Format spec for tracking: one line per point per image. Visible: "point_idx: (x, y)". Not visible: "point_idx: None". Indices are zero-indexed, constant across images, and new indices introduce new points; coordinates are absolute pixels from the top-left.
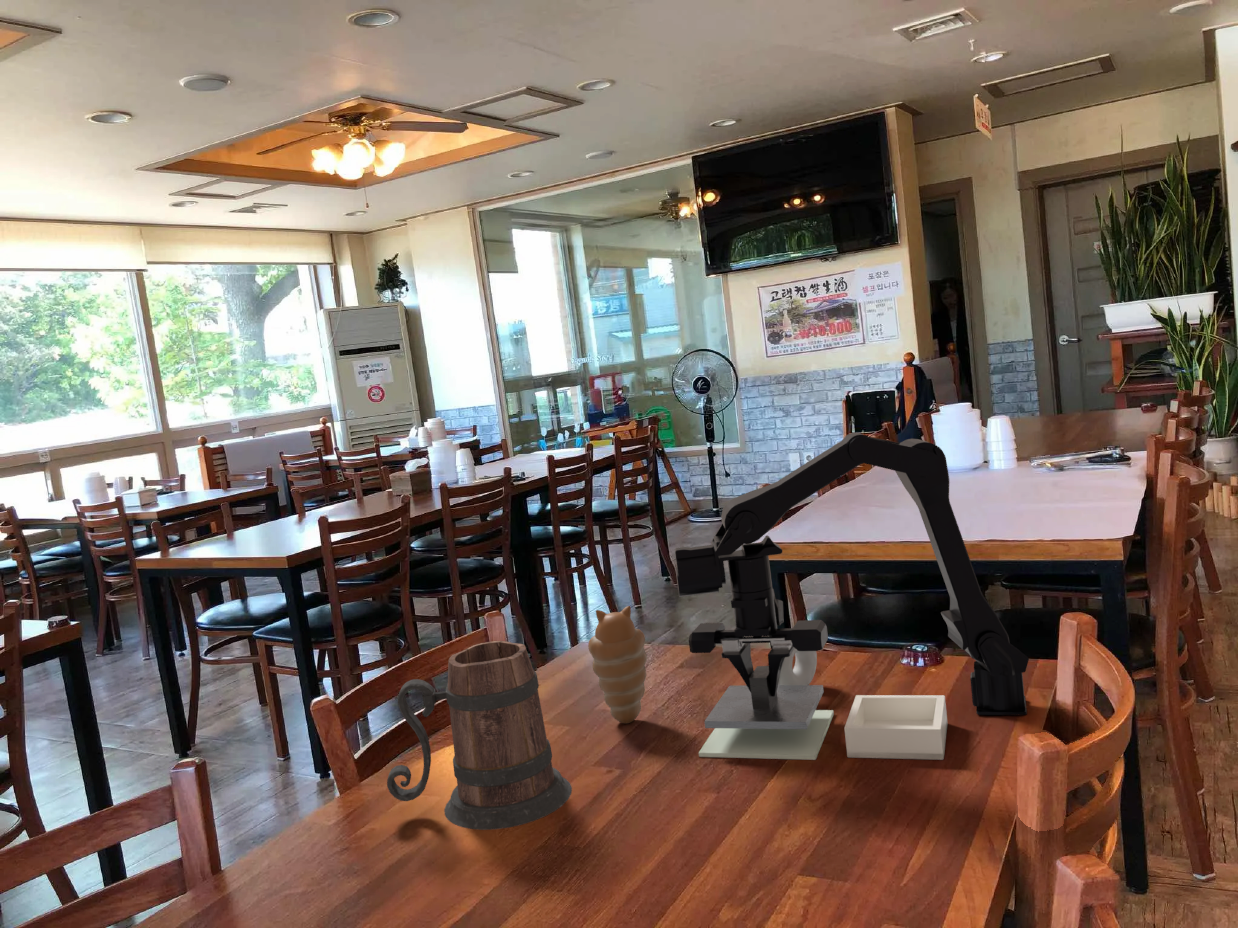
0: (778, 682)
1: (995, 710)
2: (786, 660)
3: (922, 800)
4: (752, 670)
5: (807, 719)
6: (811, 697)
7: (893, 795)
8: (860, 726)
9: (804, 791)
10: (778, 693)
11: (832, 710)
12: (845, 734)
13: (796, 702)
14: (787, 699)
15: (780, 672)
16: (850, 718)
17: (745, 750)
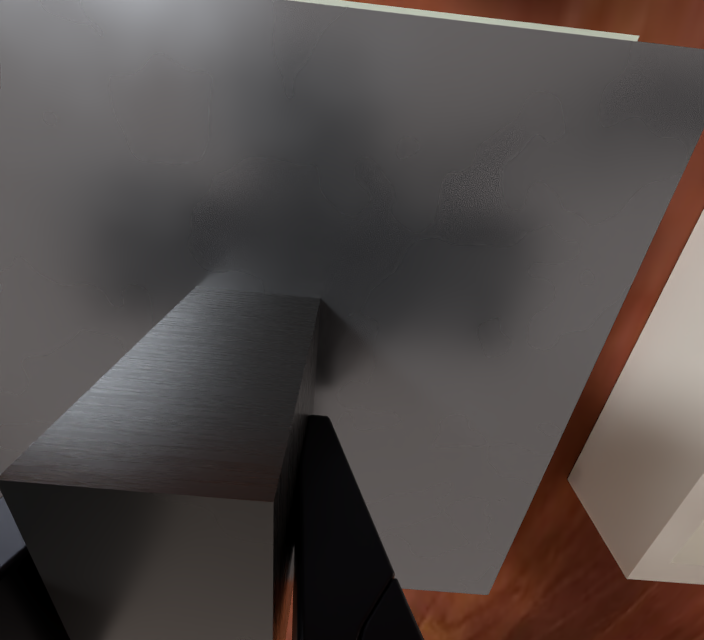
0: (352, 477)
1: None
2: None
3: (670, 632)
4: (30, 602)
5: (496, 571)
6: (562, 345)
7: (619, 618)
8: (693, 571)
9: (432, 603)
10: (322, 244)
11: (632, 39)
12: (612, 552)
13: (456, 409)
14: (398, 360)
15: (386, 564)
16: (685, 512)
17: None
